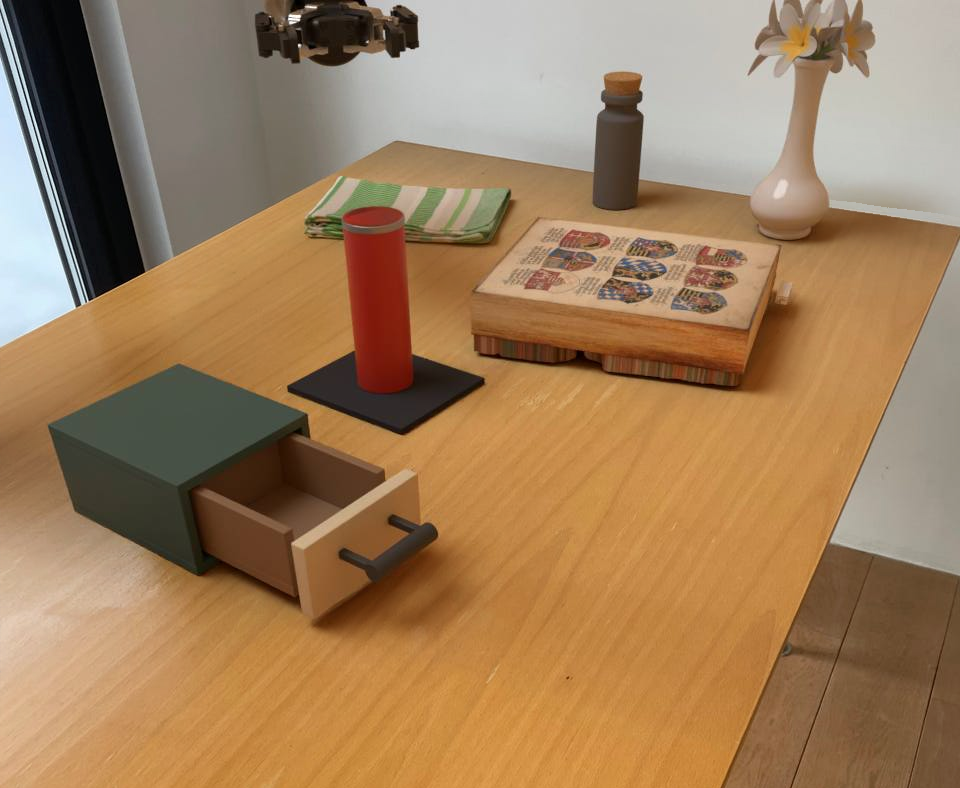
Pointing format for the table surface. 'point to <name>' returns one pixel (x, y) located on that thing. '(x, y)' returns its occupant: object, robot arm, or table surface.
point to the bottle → (618, 142)
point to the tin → (379, 297)
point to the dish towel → (414, 210)
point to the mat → (391, 410)
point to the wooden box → (628, 300)
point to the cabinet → (163, 454)
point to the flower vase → (804, 106)
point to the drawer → (310, 520)
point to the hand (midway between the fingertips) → (345, 47)
